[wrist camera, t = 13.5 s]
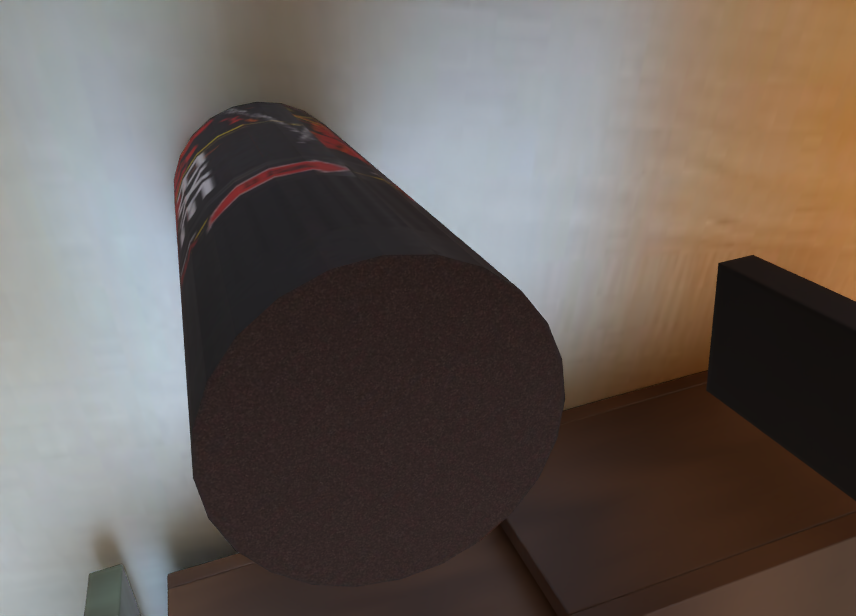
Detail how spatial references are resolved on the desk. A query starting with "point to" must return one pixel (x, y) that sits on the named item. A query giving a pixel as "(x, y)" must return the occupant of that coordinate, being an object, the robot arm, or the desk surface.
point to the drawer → (339, 589)
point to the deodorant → (347, 359)
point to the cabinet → (682, 515)
